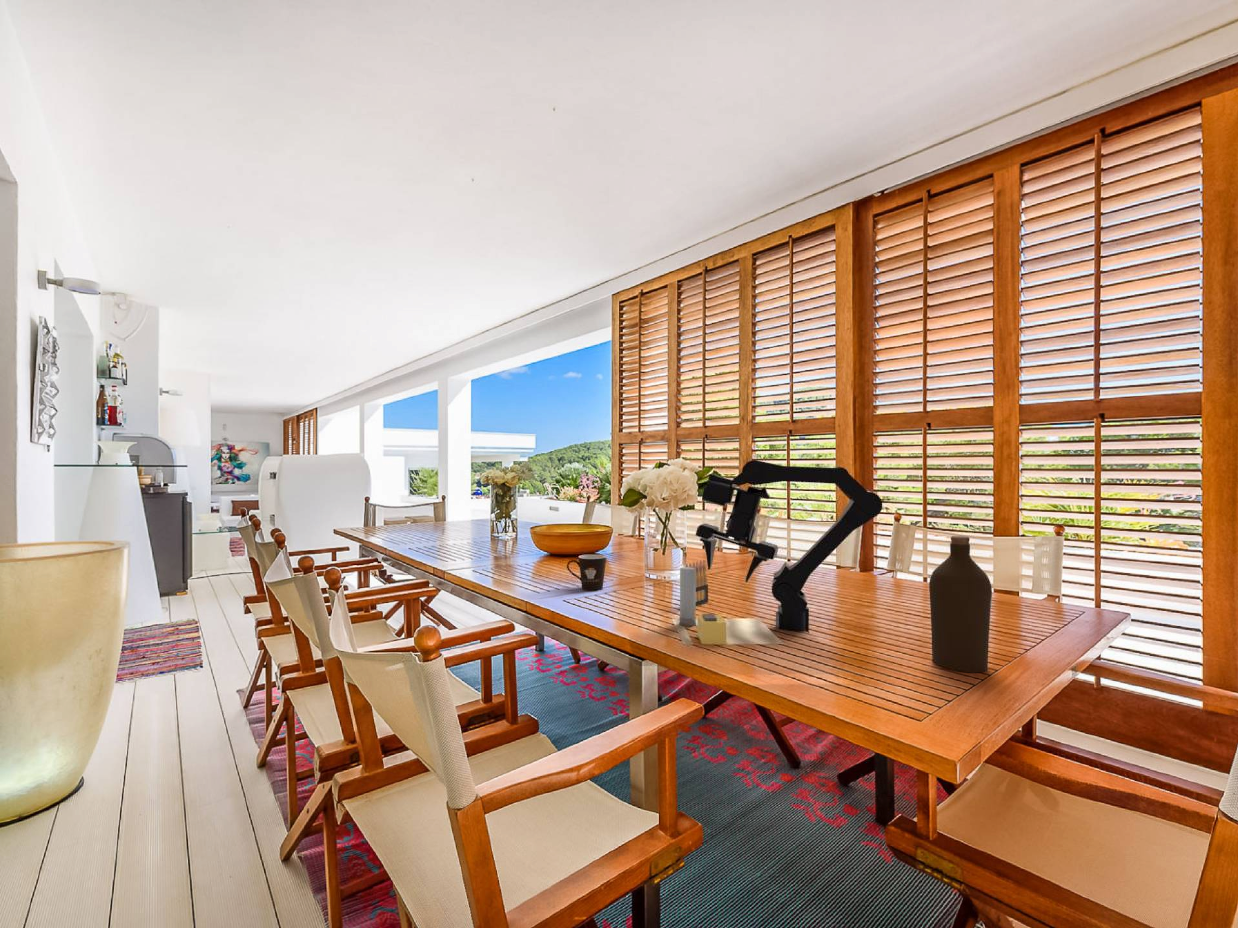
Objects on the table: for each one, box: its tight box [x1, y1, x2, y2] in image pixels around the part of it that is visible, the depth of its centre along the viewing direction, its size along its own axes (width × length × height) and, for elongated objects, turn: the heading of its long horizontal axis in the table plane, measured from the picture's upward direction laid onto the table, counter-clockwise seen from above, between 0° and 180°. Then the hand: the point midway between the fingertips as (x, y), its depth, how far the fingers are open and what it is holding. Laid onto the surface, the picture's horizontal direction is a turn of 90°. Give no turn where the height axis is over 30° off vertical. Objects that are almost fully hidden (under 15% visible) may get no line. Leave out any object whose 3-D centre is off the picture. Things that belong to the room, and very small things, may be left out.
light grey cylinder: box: [679, 566, 697, 627], centre depth 138 cm, size 4×4×13 cm
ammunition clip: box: [685, 559, 709, 608], centre depth 163 cm, size 11×2×12 cm, turn 140°
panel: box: [671, 617, 784, 646], centre depth 133 cm, size 21×20×2 cm
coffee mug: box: [566, 554, 607, 592], centre depth 184 cm, size 12×9×10 cm
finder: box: [697, 613, 727, 645], centre depth 126 cm, size 5×6×5 cm
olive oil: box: [928, 535, 993, 673], centre depth 115 cm, size 11×11×25 cm
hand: (727, 575), depth 140 cm, fingers open, 9 cm apart
